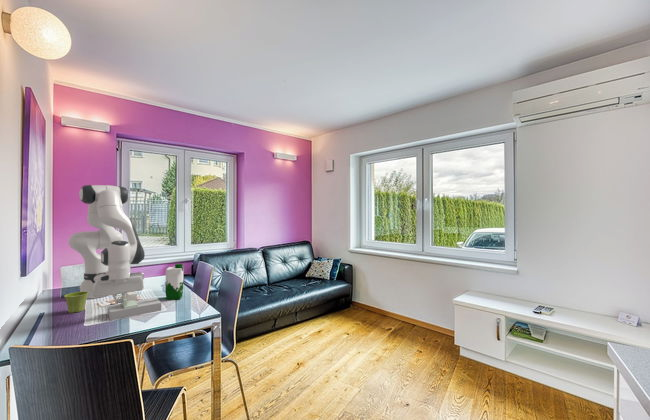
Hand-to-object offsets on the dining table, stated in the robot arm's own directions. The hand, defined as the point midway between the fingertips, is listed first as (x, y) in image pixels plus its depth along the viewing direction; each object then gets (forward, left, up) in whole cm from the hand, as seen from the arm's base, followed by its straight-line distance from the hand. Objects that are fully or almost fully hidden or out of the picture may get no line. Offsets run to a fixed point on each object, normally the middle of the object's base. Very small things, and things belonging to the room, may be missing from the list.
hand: (118, 302), depth 138 cm
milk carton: (-12, +28, -6) cm, 31 cm away
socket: (0, +7, -6) cm, 9 cm away
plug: (-14, +7, -6) cm, 17 cm away
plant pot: (-22, -15, -6) cm, 27 cm away
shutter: (0, +4, -2) cm, 5 cm away
